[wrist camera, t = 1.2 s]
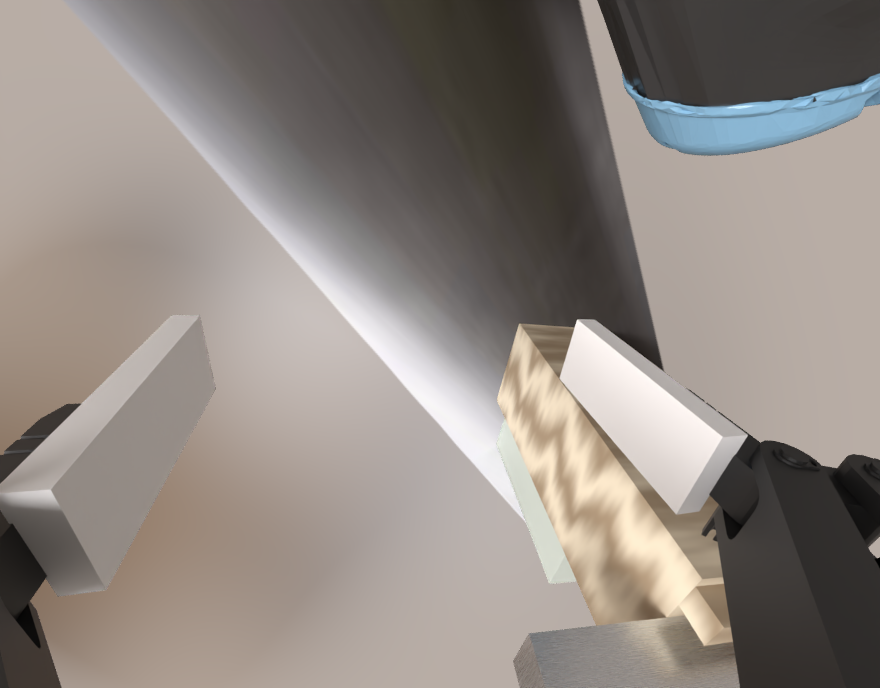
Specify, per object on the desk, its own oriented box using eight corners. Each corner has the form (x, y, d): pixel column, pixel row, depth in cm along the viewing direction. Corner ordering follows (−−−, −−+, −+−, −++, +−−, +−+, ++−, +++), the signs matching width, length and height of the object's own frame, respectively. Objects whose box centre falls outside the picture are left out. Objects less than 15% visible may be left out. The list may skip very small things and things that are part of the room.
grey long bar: (534, 624, 20) (562, 712, 17) (839, 590, 25) (902, 654, 22) (508, 668, 23) (529, 750, 20) (787, 629, 27) (838, 691, 24)
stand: (519, 323, 46) (732, 620, 19) (605, 329, 48) (901, 599, 21) (496, 399, 52) (633, 709, 25) (574, 401, 54) (775, 684, 27)
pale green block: (507, 408, 53) (571, 544, 36) (595, 410, 56) (691, 537, 39) (496, 443, 56) (549, 583, 39) (579, 443, 59) (661, 574, 42)
